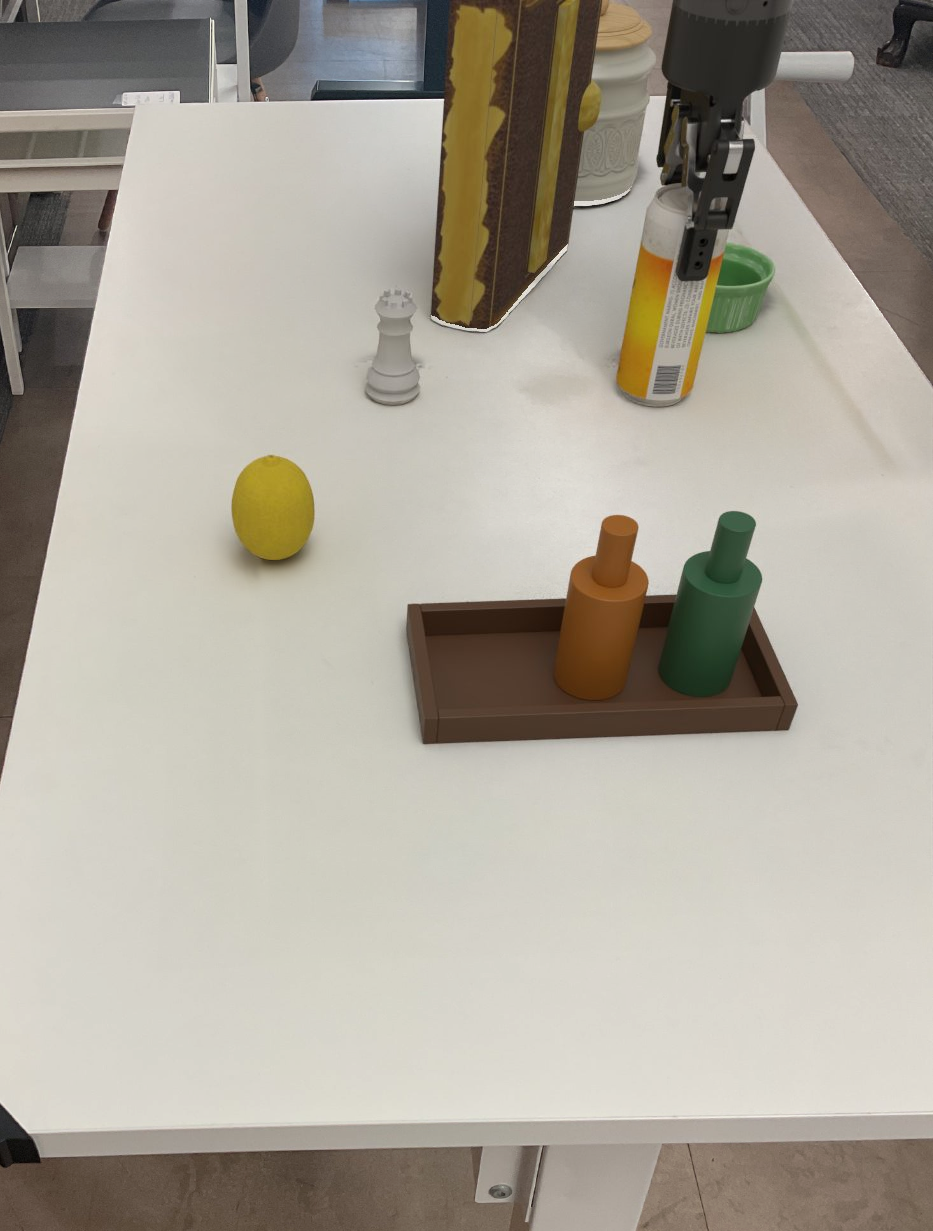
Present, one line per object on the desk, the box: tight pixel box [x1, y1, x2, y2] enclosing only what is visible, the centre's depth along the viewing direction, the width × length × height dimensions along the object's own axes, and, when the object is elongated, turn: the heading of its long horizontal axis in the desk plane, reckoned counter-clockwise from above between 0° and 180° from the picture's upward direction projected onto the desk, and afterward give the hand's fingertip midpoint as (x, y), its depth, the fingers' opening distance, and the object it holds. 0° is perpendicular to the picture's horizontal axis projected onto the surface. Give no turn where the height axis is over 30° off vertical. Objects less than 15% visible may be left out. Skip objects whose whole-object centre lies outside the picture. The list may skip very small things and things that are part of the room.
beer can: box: [615, 183, 730, 408], centre depth 95 cm, size 6×6×15 cm
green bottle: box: [658, 510, 763, 697], centre depth 73 cm, size 4×4×11 cm
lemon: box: [230, 454, 316, 561], centre depth 83 cm, size 6×6×8 cm
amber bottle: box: [554, 514, 650, 701], centre depth 73 cm, size 4×4×11 cm
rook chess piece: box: [364, 287, 421, 406], centre depth 98 cm, size 4×4×8 cm
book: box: [430, 0, 602, 329], centre depth 106 cm, size 22×8×25 cm, turn 152°
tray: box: [405, 593, 799, 745], centre depth 76 cm, size 22×11×3 cm, turn 93°
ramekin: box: [706, 241, 776, 334], centre depth 108 cm, size 9×9×4 cm
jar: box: [574, 0, 657, 201], centre depth 123 cm, size 13×13×18 cm
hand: (679, 257), depth 93 cm, fingers closed on beer can, 6 cm apart
